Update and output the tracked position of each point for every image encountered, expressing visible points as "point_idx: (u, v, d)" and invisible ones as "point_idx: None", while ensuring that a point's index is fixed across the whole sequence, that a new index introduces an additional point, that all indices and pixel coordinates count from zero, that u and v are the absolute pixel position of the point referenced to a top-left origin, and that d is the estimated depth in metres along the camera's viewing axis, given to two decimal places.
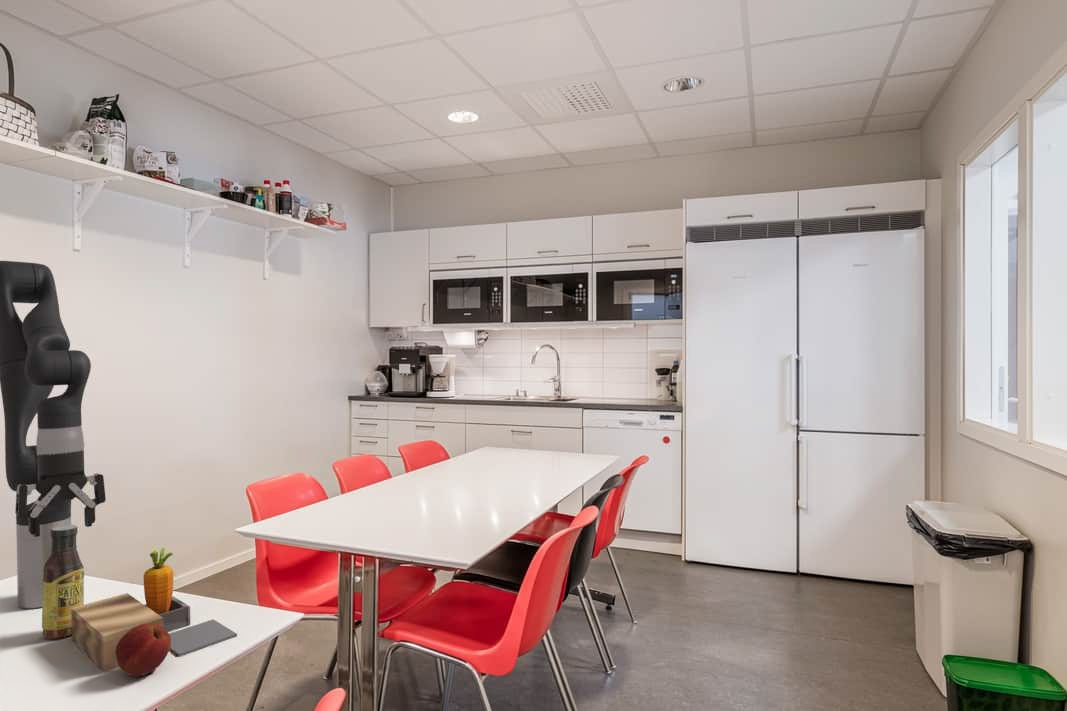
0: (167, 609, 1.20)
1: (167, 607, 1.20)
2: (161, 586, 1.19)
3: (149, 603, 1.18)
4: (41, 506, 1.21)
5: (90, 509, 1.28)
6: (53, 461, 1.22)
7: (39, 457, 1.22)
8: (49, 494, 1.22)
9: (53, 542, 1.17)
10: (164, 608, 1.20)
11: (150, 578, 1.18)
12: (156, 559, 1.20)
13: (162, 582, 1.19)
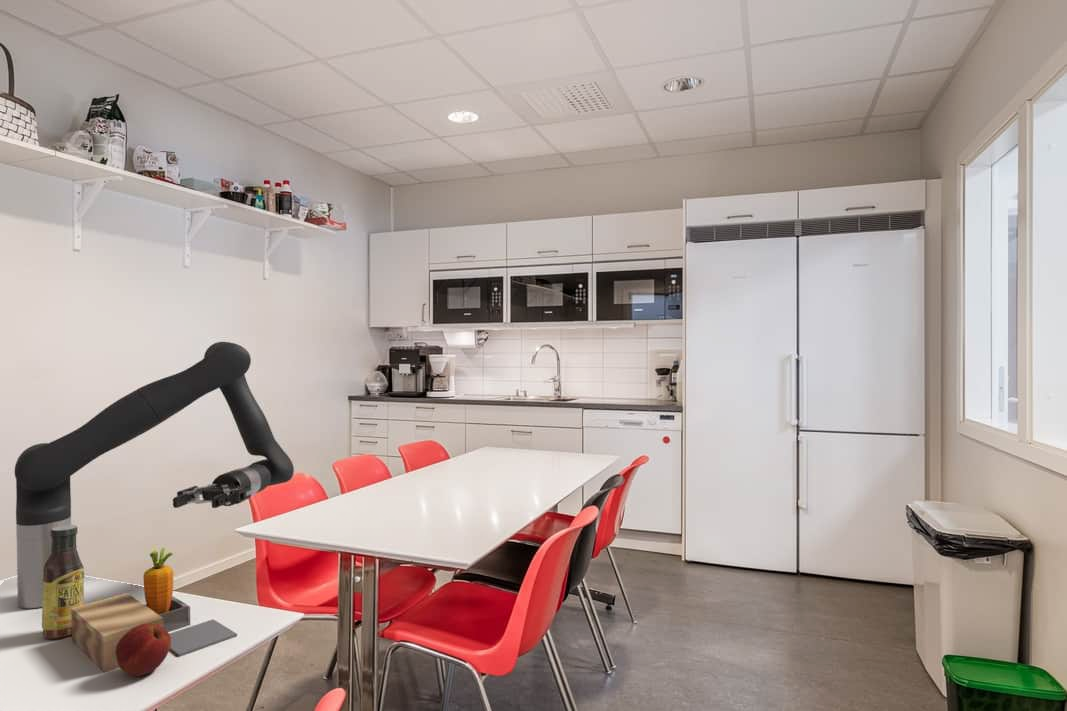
0: (167, 609, 1.20)
1: (167, 607, 1.20)
2: (161, 586, 1.19)
3: (149, 603, 1.18)
4: None
5: None
6: None
7: None
8: None
9: (53, 542, 1.17)
10: (164, 608, 1.20)
11: (150, 578, 1.18)
12: (156, 559, 1.20)
13: (162, 582, 1.19)
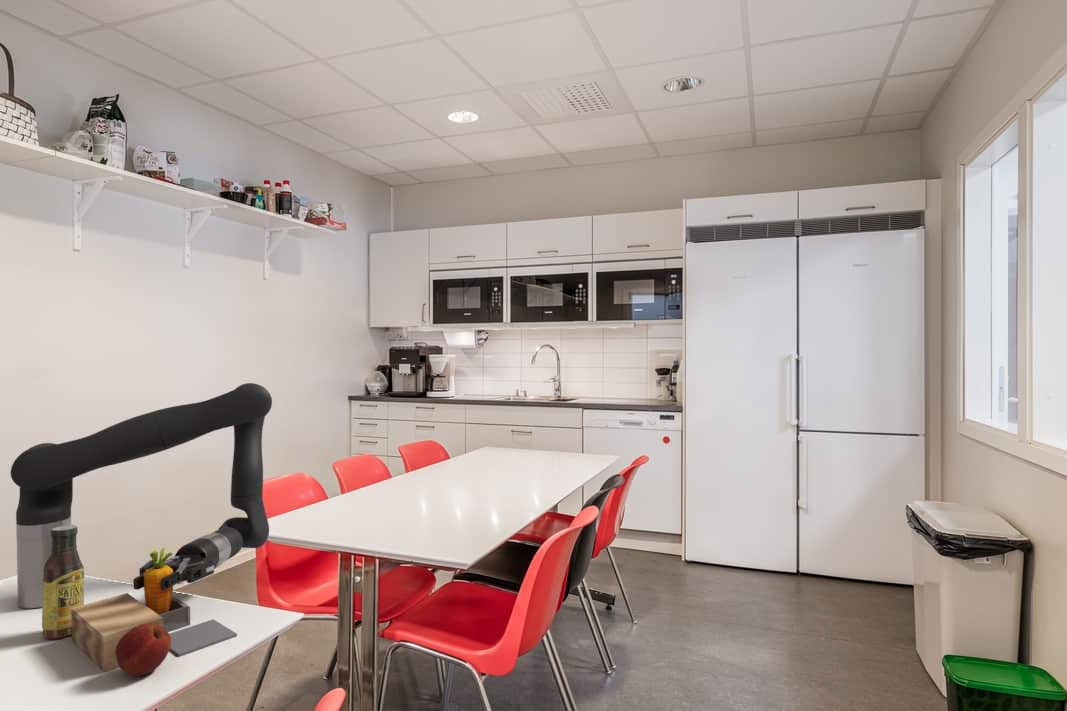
0: (167, 609, 1.20)
1: (167, 607, 1.20)
2: None
3: (149, 603, 1.18)
4: None
5: None
6: None
7: (217, 561, 1.33)
8: None
9: (53, 542, 1.17)
10: (164, 608, 1.20)
11: (150, 578, 1.18)
12: (156, 559, 1.20)
13: None
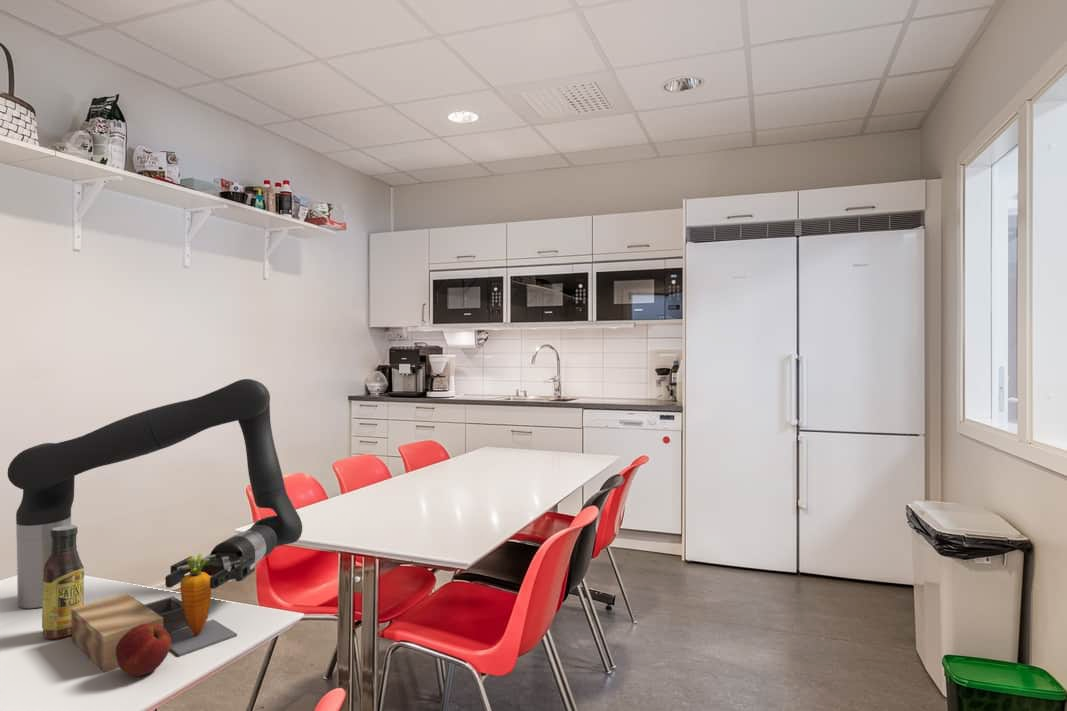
0: (205, 618, 1.15)
1: (205, 616, 1.15)
2: (198, 594, 1.14)
3: (187, 612, 1.13)
4: None
5: None
6: None
7: None
8: None
9: (53, 542, 1.17)
10: (202, 617, 1.15)
11: (187, 586, 1.13)
12: (193, 566, 1.14)
13: (200, 590, 1.14)
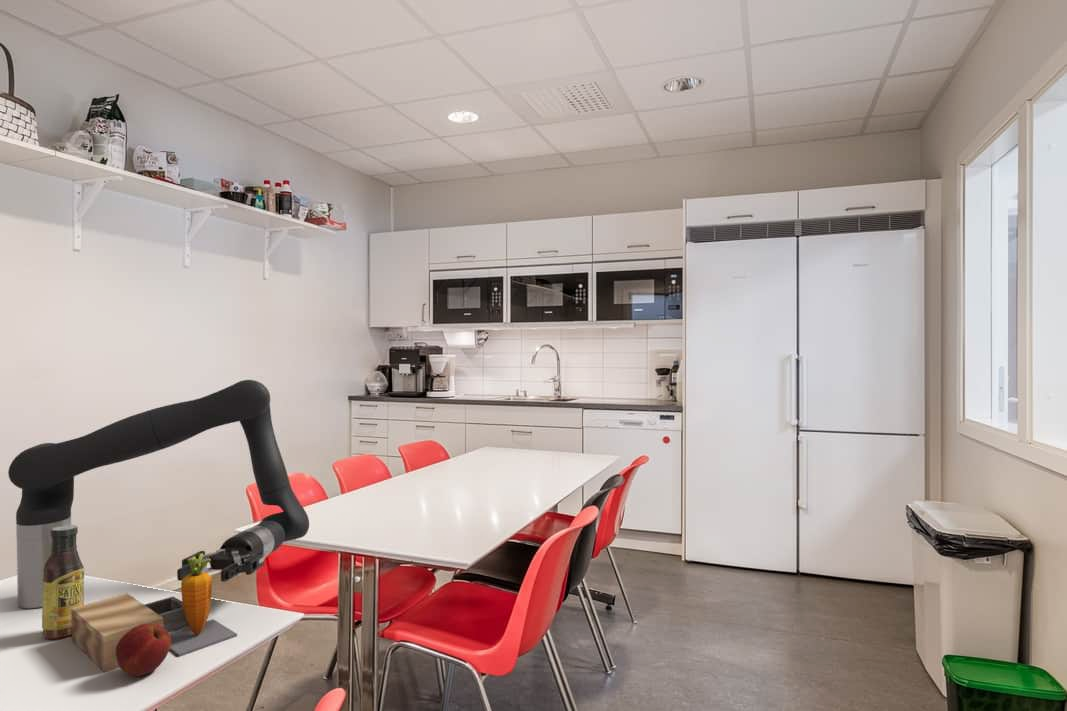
0: (205, 618, 1.15)
1: (206, 616, 1.15)
2: (199, 594, 1.14)
3: (187, 612, 1.13)
4: None
5: None
6: None
7: None
8: None
9: (53, 542, 1.17)
10: (203, 617, 1.15)
11: (188, 585, 1.13)
12: (194, 566, 1.14)
13: (201, 590, 1.14)
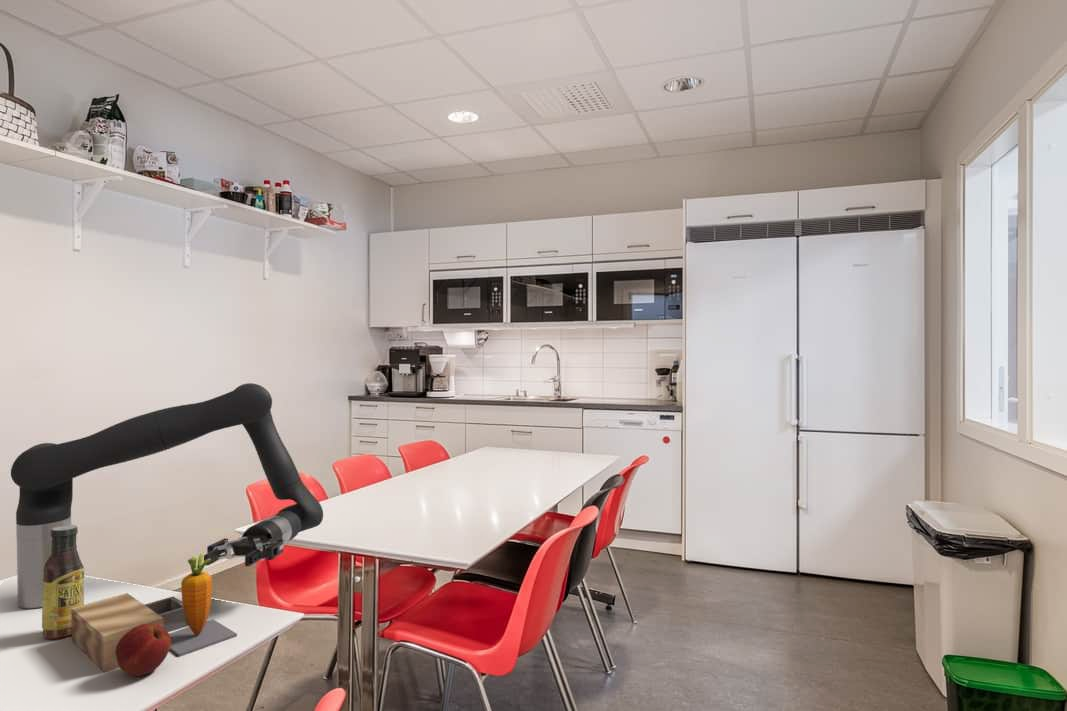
0: (205, 618, 1.15)
1: (206, 616, 1.15)
2: (199, 594, 1.14)
3: (187, 612, 1.13)
4: None
5: None
6: None
7: None
8: None
9: (53, 542, 1.17)
10: (203, 617, 1.15)
11: (188, 585, 1.13)
12: (194, 566, 1.14)
13: (201, 590, 1.14)
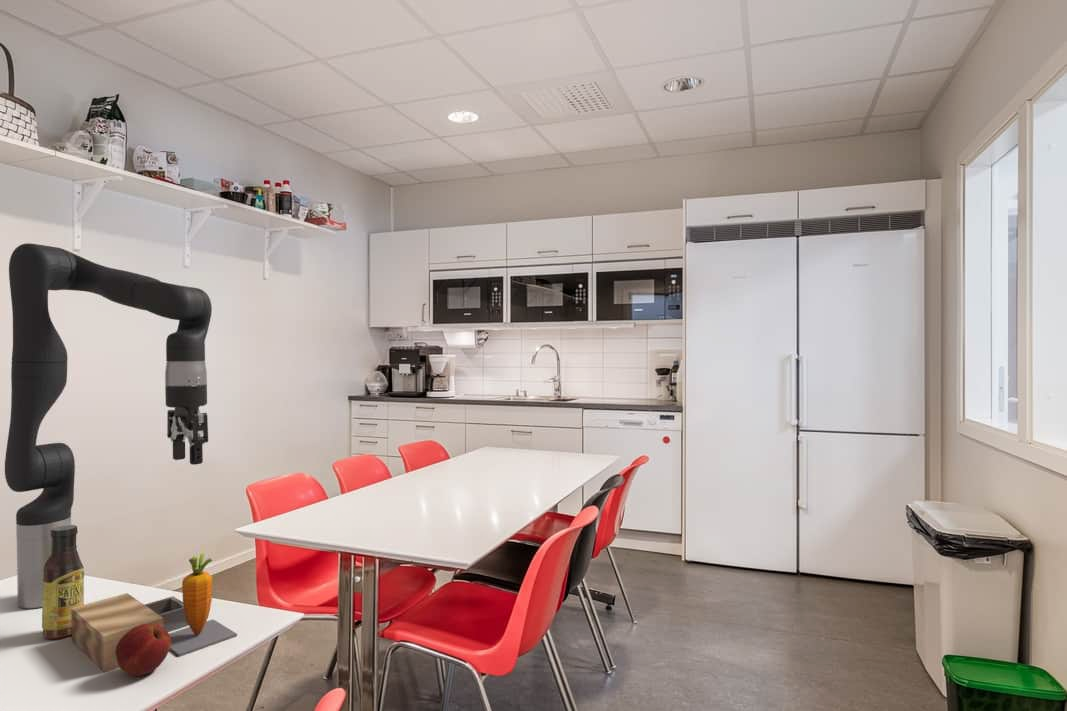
0: (206, 618, 1.16)
1: (206, 616, 1.15)
2: (200, 593, 1.14)
3: (188, 611, 1.14)
4: None
5: None
6: (206, 391, 1.30)
7: (198, 388, 1.27)
8: None
9: (53, 542, 1.17)
10: (203, 616, 1.15)
11: (189, 585, 1.13)
12: (195, 565, 1.15)
13: (202, 589, 1.14)
